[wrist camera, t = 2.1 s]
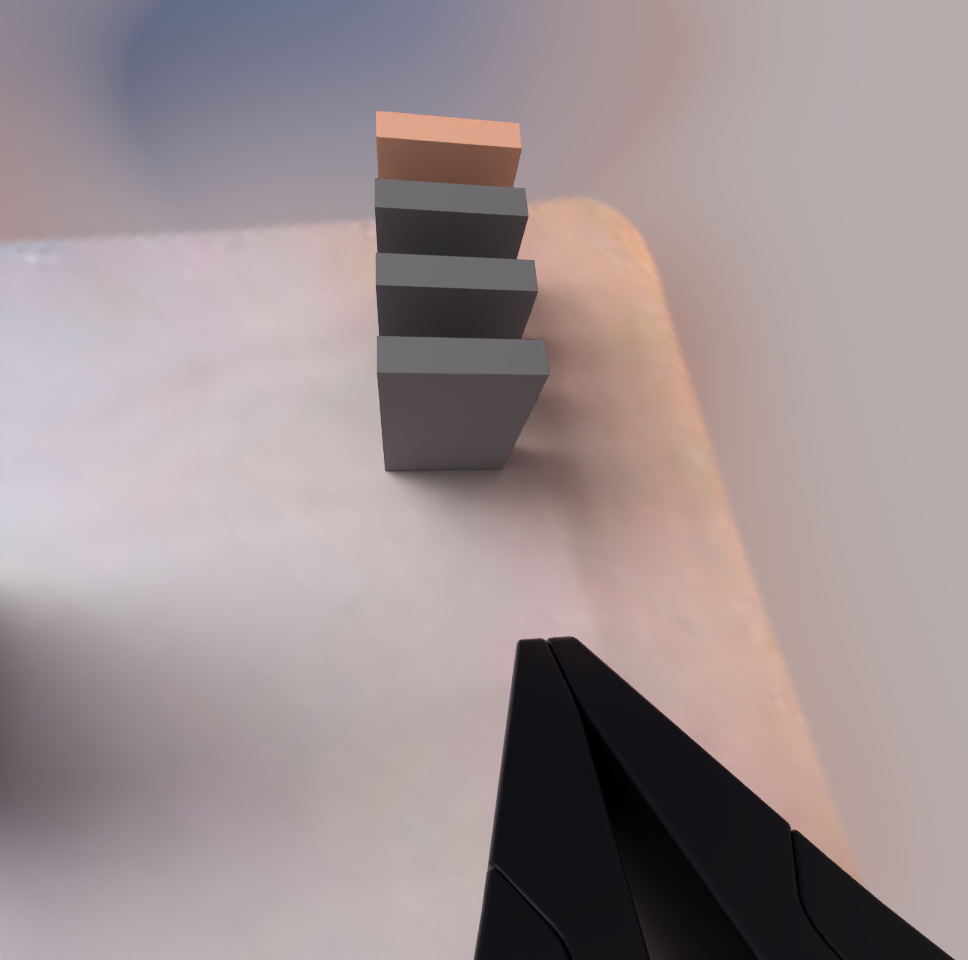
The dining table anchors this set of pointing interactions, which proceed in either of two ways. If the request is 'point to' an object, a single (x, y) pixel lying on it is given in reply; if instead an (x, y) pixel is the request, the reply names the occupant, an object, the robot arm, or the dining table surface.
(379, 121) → the end tile
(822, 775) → the dining table surface
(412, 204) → the tile
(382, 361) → the tile
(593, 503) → the dining table surface
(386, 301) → the tile
